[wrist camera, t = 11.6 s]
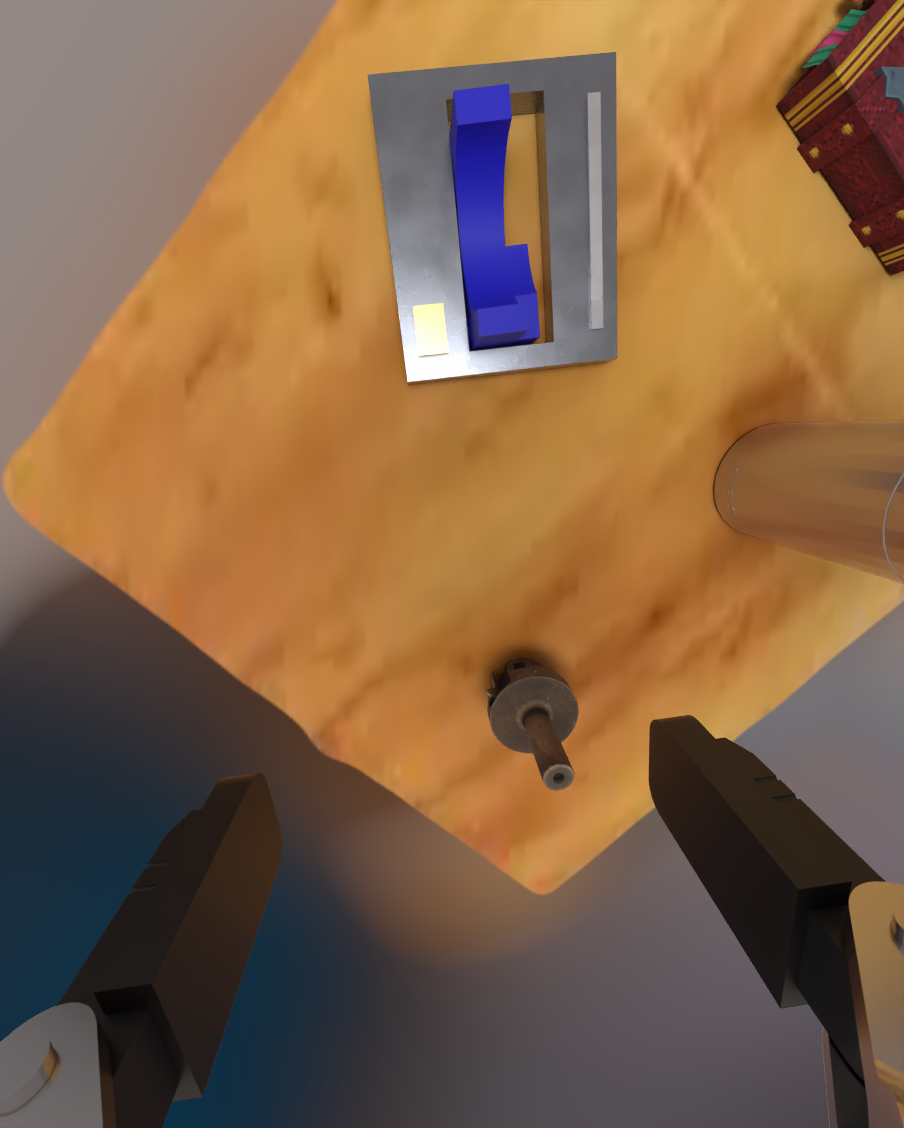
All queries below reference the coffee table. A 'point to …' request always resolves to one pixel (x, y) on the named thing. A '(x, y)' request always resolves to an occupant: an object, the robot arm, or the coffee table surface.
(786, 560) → the coffee table surface
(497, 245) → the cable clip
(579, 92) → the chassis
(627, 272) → the coffee table surface
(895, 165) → the decorative book
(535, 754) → the industrial component
